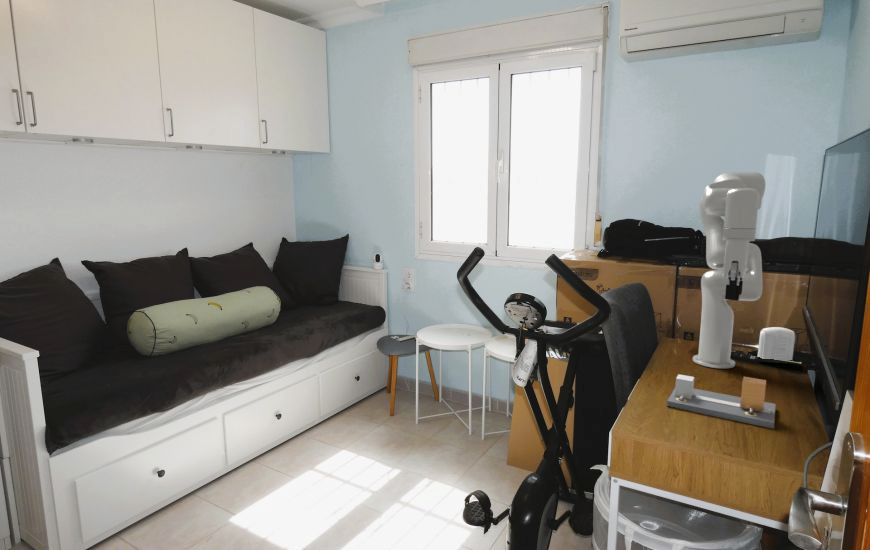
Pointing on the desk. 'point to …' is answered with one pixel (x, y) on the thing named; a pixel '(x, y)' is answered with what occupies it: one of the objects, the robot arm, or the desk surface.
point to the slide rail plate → (717, 404)
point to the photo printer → (776, 343)
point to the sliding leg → (753, 394)
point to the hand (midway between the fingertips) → (733, 296)
